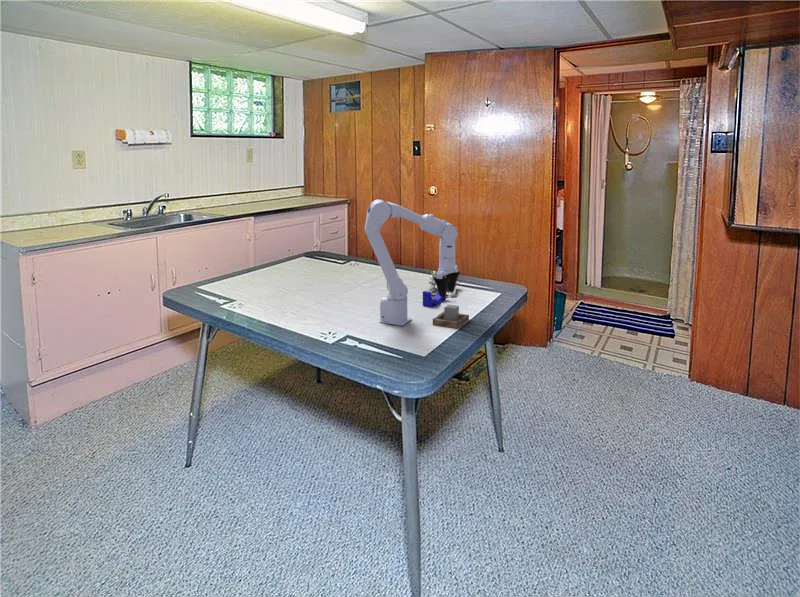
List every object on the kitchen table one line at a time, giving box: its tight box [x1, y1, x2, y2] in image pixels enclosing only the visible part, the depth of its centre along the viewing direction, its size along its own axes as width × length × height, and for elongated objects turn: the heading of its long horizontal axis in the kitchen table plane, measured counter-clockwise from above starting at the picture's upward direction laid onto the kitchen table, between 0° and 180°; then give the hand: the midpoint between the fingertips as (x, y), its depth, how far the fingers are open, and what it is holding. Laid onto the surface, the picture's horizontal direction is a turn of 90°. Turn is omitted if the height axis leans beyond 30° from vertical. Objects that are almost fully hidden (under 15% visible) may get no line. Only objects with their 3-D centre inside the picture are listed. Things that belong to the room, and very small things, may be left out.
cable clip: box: [422, 289, 447, 309], centre depth 214 cm, size 12×4×6 cm, turn 141°
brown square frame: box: [432, 310, 470, 330], centre depth 192 cm, size 10×10×2 cm
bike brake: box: [427, 272, 459, 298], centre depth 227 cm, size 14×7×20 cm
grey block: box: [443, 304, 460, 322], centre depth 191 cm, size 4×4×6 cm
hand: (446, 293), depth 194 cm, fingers open, 7 cm apart
